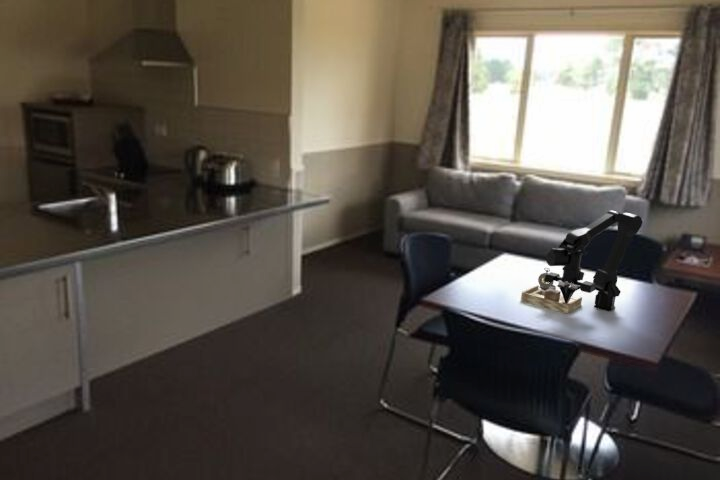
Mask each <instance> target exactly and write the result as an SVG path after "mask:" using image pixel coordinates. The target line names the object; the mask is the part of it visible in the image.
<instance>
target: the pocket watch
mask: <svg viewBox="0 0 720 480" xmlns="http://www.w3.org/2000/svg"><path fill="white" fill-rule="evenodd" d="M544 271H545V272H543V273H541V274H540V275H538V278H537V280H538V284H539V287H540V288H541V289H542V290H544V289H545V290H548V289H554V290H556V288H557V285H556V286H555V285H554V281H553V282H551V283H549V282H546V281H544V277H545V275H546V274H548V273H550V272H551V269H550V268H548V267H545V268H544Z"/></svg>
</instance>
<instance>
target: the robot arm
mask: <svg viewBox="0 0 720 480" xmlns="http://www.w3.org/2000/svg"><path fill="white" fill-rule="evenodd" d="M616 223H617V236H616V237H615V240H614V241H613V244H612V247H611V250H610V252H609V254H608V256H607V259H606V262H605V264H604V266H603V267H602V268H601V269H598V268H597V269H596V270H595V273H594V276H593V277H592V278H593V281H587V280H585V281H583V280H584V276H585V272H583V271H581V270H582V268H581V267H580V266H581V261H582V255H587V254H588V252H587V251H585V248H586V247H587V246H588V245H589V244H590V243H591V241H592V239H594V237H596V236H597V235H599V234H600V233H602V232H604V231H605V230H606V229H608V228H609V227H611V226H613V225H615V224H616ZM642 226H643V220H642V217H641V216H640V215H637V214H634V213H629V212H623V213H622V212H619V211H615V210H608V211H607V212H606V213H605V214H604V215H602V216H600V217H598V219H596V220H594V221H593V222H591V223H589V224H588V225H586V226H585V227H583V228H579V229H575V230H572V231H570V232H568V233H567V234H566V235H565V238H564V239H563V240H562V242H561V243H560V244H559V246H558V247H557V248H555V247H551V248H550V251H548V252H547V254H546V256H545V257H546V258H545V259H546V264H547V265H548V266H549V267H559V266H560V267H562V266H563V267H562V277H561V276H560V273H556V272H552V271H550V272H548V274H546V275H545V277H544V279H543V280H544V281H546V283H547V282H549V283H551V282H553V283H554V282H558V284H557V285H556V287H558V288H559V289H560V290H559V291H561V292H560V293H561V295H562V296H563V298H564V301H565V303H568V302H569V300H570V298H573V295H574V293H575V292H576V291H578V290H580V291H581V292H584V293H588V294H590V293H592V292H594V291H597V294H596V295H595V299H594V306H593V308H597V309H599V310H604V311H607V312H611V311H613V310H614V309H616V306H615V302H616V297H619V296H620V294H621V290H620V289H619V287H618V286H617V283H618V268H619V267H620V265H621V262H622V259H623V258H624V255H625V253H626V250H627V248H628V246H629V243H630V241H631V239H632V238H633V237H634V236H635V235H637V234H638V233H639V231H640V229H641V228H642ZM580 281H583V282H580ZM549 283H548V284H549Z"/></svg>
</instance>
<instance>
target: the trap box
mask: <svg viewBox="0 0 720 480" xmlns="http://www.w3.org/2000/svg"><path fill="white" fill-rule="evenodd" d="M539 287H540V285H537V284H536V285H535V286H532V287H531V288H529V289H526V290H524V291H522V292H521V297H520V301H522V302H525V303H528V304H533V305H535V306H539V307H543V308H545V309H549V310H553V311H556V312H559V313H563V314H569V313H571V312H572V311H574V310H576V309H577V308H579V307H581V306H582V301H583V297H581V296H580V297H578V298H576V299H575V298H573V297H571V298H570V300H569V302H568V303H565V301H564V298H563V295H562V294H560V299H559V302H556V301H553V300H549V299H545V298H544V294H545V291H546V290H544V289H539Z"/></svg>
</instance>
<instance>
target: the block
mask: <svg viewBox="0 0 720 480" xmlns="http://www.w3.org/2000/svg"><path fill="white" fill-rule="evenodd" d="M544 291H545V294H544V298H545V299H549V300H553V301H556V302H559V299H560V295H561V293H562V292H561V290H558V289H557V290H556V289H545V290H544Z"/></svg>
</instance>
